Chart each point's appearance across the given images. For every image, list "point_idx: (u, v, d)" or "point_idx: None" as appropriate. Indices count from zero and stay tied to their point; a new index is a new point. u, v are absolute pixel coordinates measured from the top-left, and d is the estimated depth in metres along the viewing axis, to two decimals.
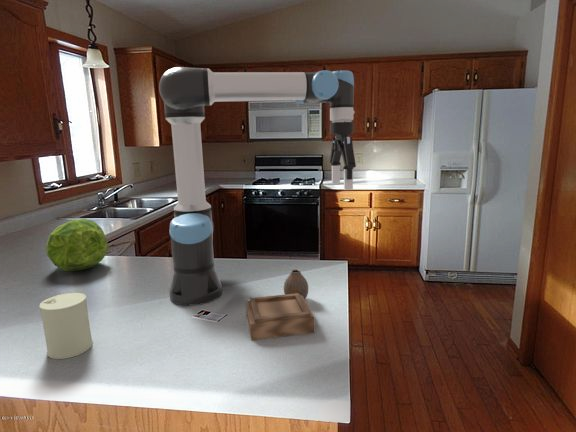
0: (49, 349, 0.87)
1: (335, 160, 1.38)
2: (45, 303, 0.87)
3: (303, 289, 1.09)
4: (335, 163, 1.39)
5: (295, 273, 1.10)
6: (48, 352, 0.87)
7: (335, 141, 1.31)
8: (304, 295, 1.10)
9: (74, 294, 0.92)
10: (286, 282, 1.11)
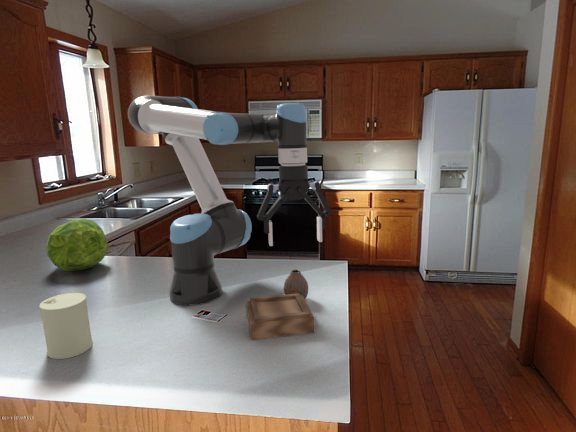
0: (49, 349, 0.87)
1: (315, 210, 1.09)
2: (45, 303, 0.87)
3: (303, 289, 1.09)
4: None
5: (295, 273, 1.10)
6: (48, 352, 0.87)
7: None
8: (304, 295, 1.10)
9: (74, 294, 0.92)
10: (286, 282, 1.11)
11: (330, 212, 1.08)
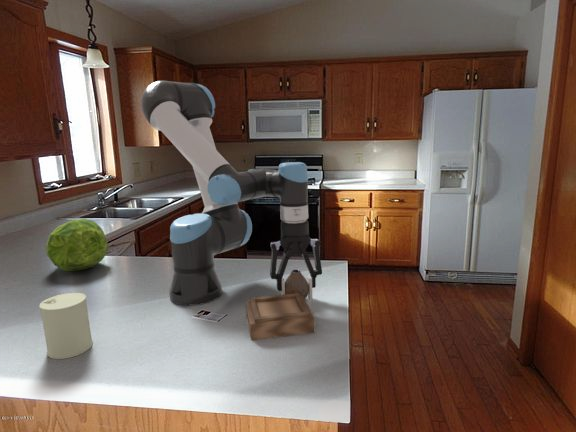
0: (49, 349, 0.87)
1: None
2: (45, 303, 0.87)
3: (303, 289, 1.09)
4: None
5: (295, 273, 1.10)
6: (48, 352, 0.87)
7: None
8: (304, 295, 1.10)
9: (74, 294, 0.92)
10: (286, 282, 1.11)
11: (320, 272, 1.11)
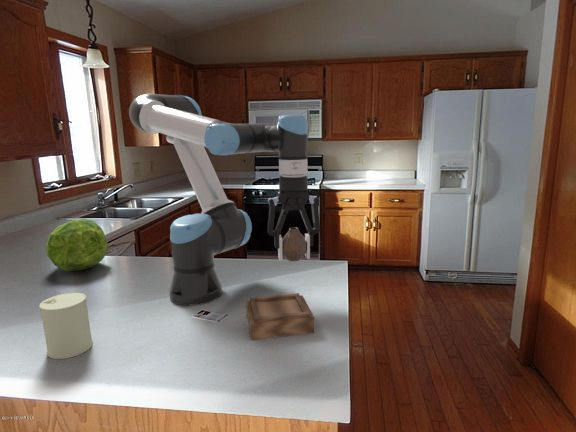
0: (49, 349, 0.87)
1: None
2: (45, 303, 0.87)
3: (300, 247, 1.07)
4: None
5: (293, 230, 1.08)
6: (48, 352, 0.87)
7: None
8: (302, 253, 1.08)
9: (74, 294, 0.92)
10: (284, 239, 1.08)
11: (318, 230, 1.09)
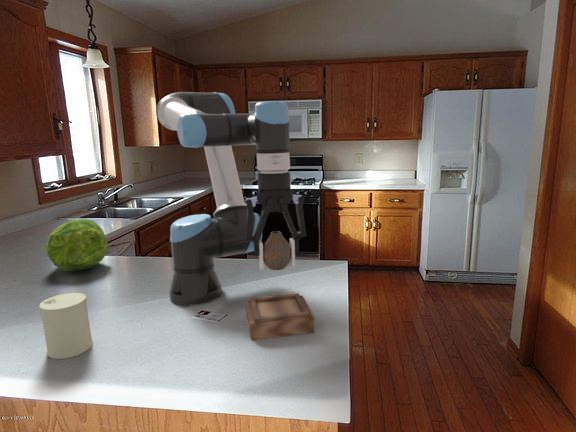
0: (49, 349, 0.87)
1: None
2: (45, 303, 0.87)
3: (284, 253, 0.93)
4: None
5: (275, 234, 0.94)
6: (48, 352, 0.87)
7: None
8: (286, 260, 0.94)
9: (74, 294, 0.92)
10: (265, 245, 0.94)
11: (304, 234, 0.95)
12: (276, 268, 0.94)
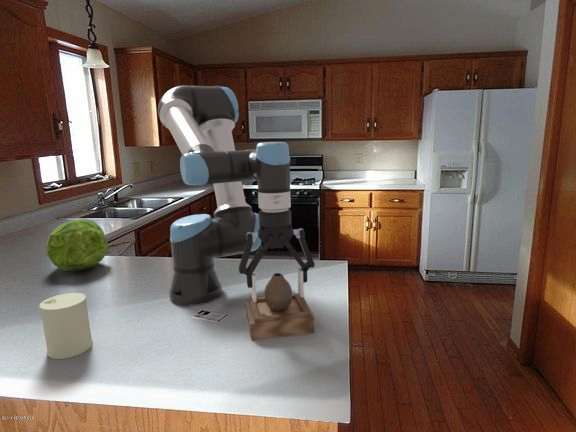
0: (49, 349, 0.87)
1: None
2: (45, 303, 0.87)
3: (285, 296, 0.95)
4: None
5: (277, 277, 0.96)
6: (48, 352, 0.87)
7: None
8: (287, 302, 0.96)
9: (74, 294, 0.92)
10: (267, 287, 0.97)
11: (312, 264, 0.97)
12: (278, 310, 0.96)
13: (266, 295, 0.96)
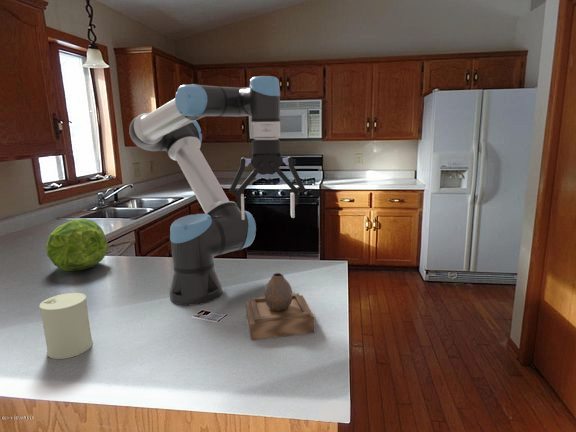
0: (49, 349, 0.87)
1: None
2: (45, 303, 0.87)
3: (285, 296, 0.95)
4: None
5: (277, 277, 0.96)
6: (48, 352, 0.87)
7: None
8: (287, 302, 0.96)
9: (74, 294, 0.92)
10: (267, 287, 0.97)
11: (303, 188, 1.08)
12: (278, 310, 0.96)
13: (266, 295, 0.96)
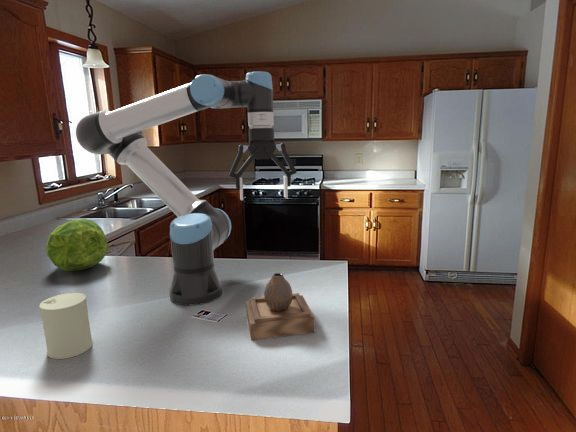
0: (49, 349, 0.87)
1: (282, 170, 1.22)
2: (45, 303, 0.87)
3: (285, 296, 0.95)
4: (286, 173, 1.22)
5: (277, 277, 0.96)
6: (48, 352, 0.87)
7: None
8: (287, 302, 0.96)
9: (74, 294, 0.92)
10: (267, 287, 0.97)
11: (295, 171, 1.21)
12: (278, 310, 0.96)
13: (266, 295, 0.96)
